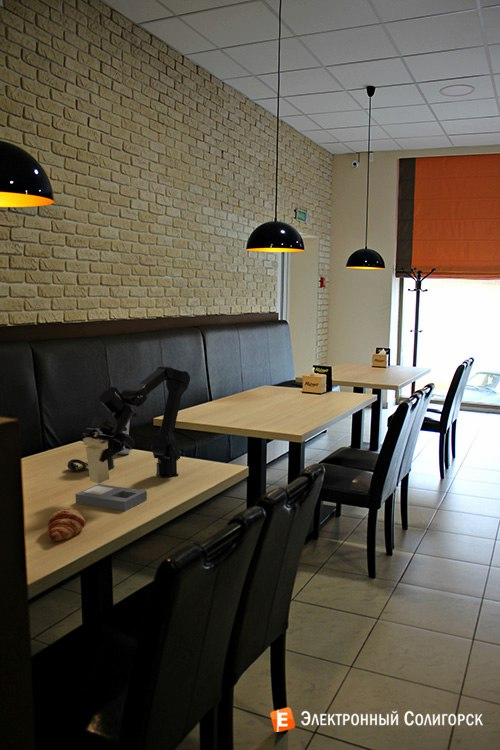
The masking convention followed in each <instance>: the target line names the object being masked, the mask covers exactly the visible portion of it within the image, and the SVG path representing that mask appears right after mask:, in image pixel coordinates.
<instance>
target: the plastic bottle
mask: <svg viewBox="0 0 500 750" xmlns="http://www.w3.org/2000/svg"><path fill="white" fill-rule="evenodd" d="M130 421H131V419H130V420H129V422H128V424H127V425H126V428H127V431H123V432H122V433H125V434H128V435H129V434H130V433H129V432H130ZM129 436H130V435H129ZM123 448H124V450H123V451H120V452H118V453H116V454H117V455H123V456H124V455H128V454H130V453H131V450H129V449H126V448H125V445H124V447H123Z"/></svg>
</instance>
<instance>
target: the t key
mask: <svg viewBox="0 0 500 750" xmlns="http://www.w3.org/2000/svg"><path fill="white" fill-rule="evenodd" d="M82 442H83V445H84V446H86V447H85V450H86V451H85V452H86V460H87V464H88V465H87V466H88V467H87V468H88V474H89V475H88V476H89V481H90V482H92V483H95V484H97V485H98V484H102V483H103V482H105V481H108V480H110V472H109V470H108V462H107V460H106V461H104V462H101V458H102V456H103V454H104V452H105V450H106V449H107V448H108V443H107V442H105V441H101V440H97V439H93V438H89V437H87V438H86V437H84V438H82Z"/></svg>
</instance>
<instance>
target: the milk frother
mask: <svg viewBox="0 0 500 750" xmlns="http://www.w3.org/2000/svg"><path fill="white" fill-rule="evenodd" d="M95 429H96V430H97V431H98V432H99V433H100V434H102V432H101V431H100V430H99V428H98V427H96V428H95ZM103 441H105V440H103ZM105 442H107V443H108V441H105ZM107 462H108V470H113V469H114V468H115V465H114V455H113V456H112V457H110V458H109V459H107ZM78 464H79V465H82V467H80V468H79V465H78ZM87 466H88V462H87V463H86V462H85V461H83V460H80V459H77V458H75V459H74V458H73V459H70V460H69V461H68V463H67V465H66V467H67V468H68V470H70V471H72V472H83V471H85V470H86V469H87Z"/></svg>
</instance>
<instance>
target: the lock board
mask: <svg viewBox="0 0 500 750" xmlns="http://www.w3.org/2000/svg"><path fill="white" fill-rule="evenodd" d="M147 492H148V491H146V490H141V489H135V488H128V487H121V486H115V485H109V484H108V485H107V484H102V483H99V484H98V483H97V484H96V485H93V486H92V487H91V486H90V487H88V488H86V489H84V490H82V491H79V492H77V493H75V504H79V505H85V506H90V507H97V508H102V509H108V510H115V511H120V512H127V511H128V510H130V509H132V508H134V507H136V506H137V505H140V504H142V503H143V502H145V501H147V500H148V497H147Z"/></svg>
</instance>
